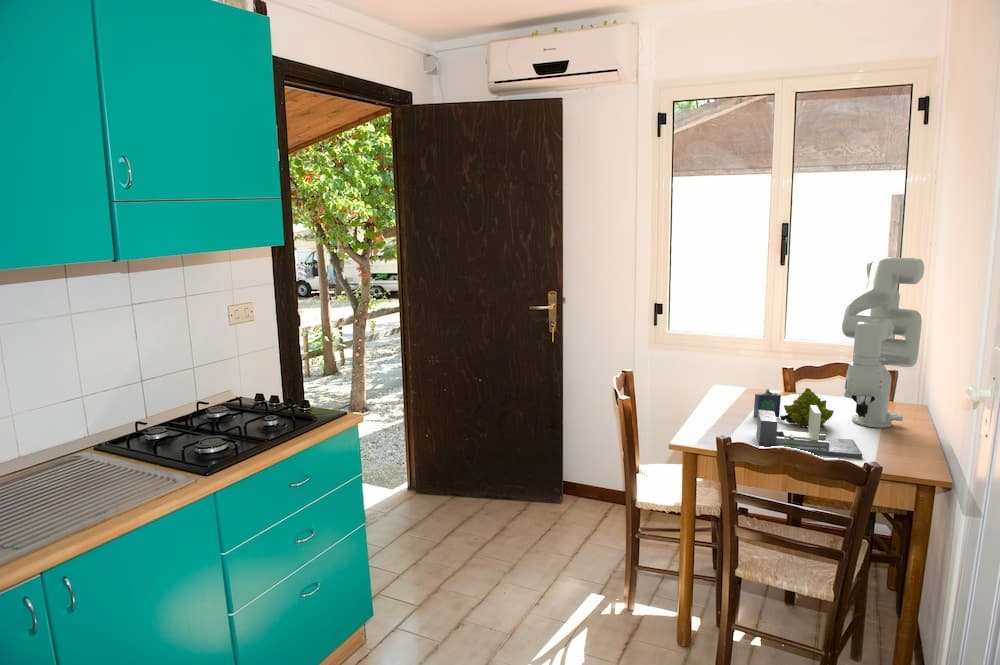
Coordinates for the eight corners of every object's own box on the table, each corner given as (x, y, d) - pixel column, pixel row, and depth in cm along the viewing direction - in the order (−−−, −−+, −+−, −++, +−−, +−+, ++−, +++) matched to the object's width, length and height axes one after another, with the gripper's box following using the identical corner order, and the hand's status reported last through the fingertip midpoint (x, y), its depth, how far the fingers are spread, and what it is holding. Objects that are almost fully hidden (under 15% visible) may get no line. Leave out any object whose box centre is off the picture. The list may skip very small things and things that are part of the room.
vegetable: (769, 411, 241) (794, 378, 239) (794, 428, 248) (819, 396, 245) (796, 431, 228) (824, 397, 226) (822, 448, 234) (849, 415, 232)
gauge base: (852, 443, 219) (855, 416, 217) (862, 459, 206) (864, 430, 204) (756, 435, 228) (758, 409, 226) (759, 449, 214) (761, 421, 213)
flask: (754, 417, 247) (756, 390, 245) (752, 415, 250) (754, 387, 248) (780, 418, 246) (782, 390, 244) (777, 416, 249) (779, 388, 247)
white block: (813, 438, 220) (816, 405, 218) (818, 448, 210) (821, 414, 208) (781, 435, 223) (784, 403, 221) (785, 445, 213) (787, 412, 211)
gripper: (890, 358, 208) (884, 413, 212) (837, 356, 213) (833, 410, 217) (896, 364, 201) (890, 421, 205) (842, 362, 206) (837, 417, 210)
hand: (861, 415), depth 211 cm, fingers closed
